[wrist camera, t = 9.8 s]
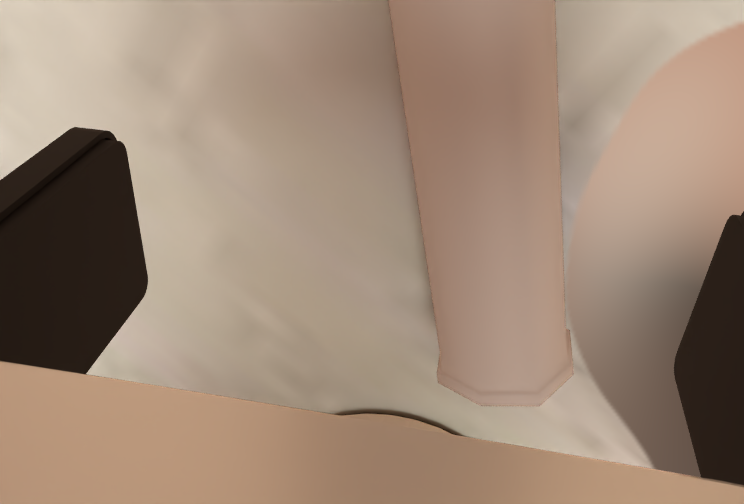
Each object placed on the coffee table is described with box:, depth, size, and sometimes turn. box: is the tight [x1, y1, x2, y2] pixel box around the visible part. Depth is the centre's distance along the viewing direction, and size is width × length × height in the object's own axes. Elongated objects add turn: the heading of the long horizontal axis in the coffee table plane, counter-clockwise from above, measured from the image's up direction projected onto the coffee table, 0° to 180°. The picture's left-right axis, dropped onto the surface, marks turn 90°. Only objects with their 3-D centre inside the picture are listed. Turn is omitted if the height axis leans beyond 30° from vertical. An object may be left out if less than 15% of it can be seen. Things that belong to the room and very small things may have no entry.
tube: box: [388, 0, 574, 406], centre depth 21 cm, size 5×5×25 cm
